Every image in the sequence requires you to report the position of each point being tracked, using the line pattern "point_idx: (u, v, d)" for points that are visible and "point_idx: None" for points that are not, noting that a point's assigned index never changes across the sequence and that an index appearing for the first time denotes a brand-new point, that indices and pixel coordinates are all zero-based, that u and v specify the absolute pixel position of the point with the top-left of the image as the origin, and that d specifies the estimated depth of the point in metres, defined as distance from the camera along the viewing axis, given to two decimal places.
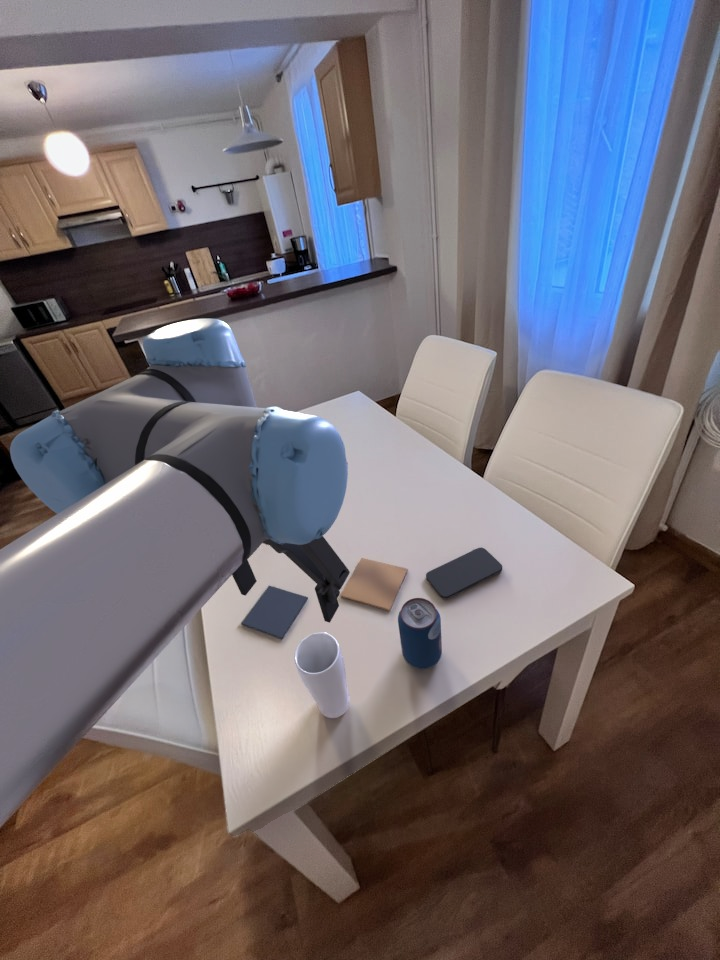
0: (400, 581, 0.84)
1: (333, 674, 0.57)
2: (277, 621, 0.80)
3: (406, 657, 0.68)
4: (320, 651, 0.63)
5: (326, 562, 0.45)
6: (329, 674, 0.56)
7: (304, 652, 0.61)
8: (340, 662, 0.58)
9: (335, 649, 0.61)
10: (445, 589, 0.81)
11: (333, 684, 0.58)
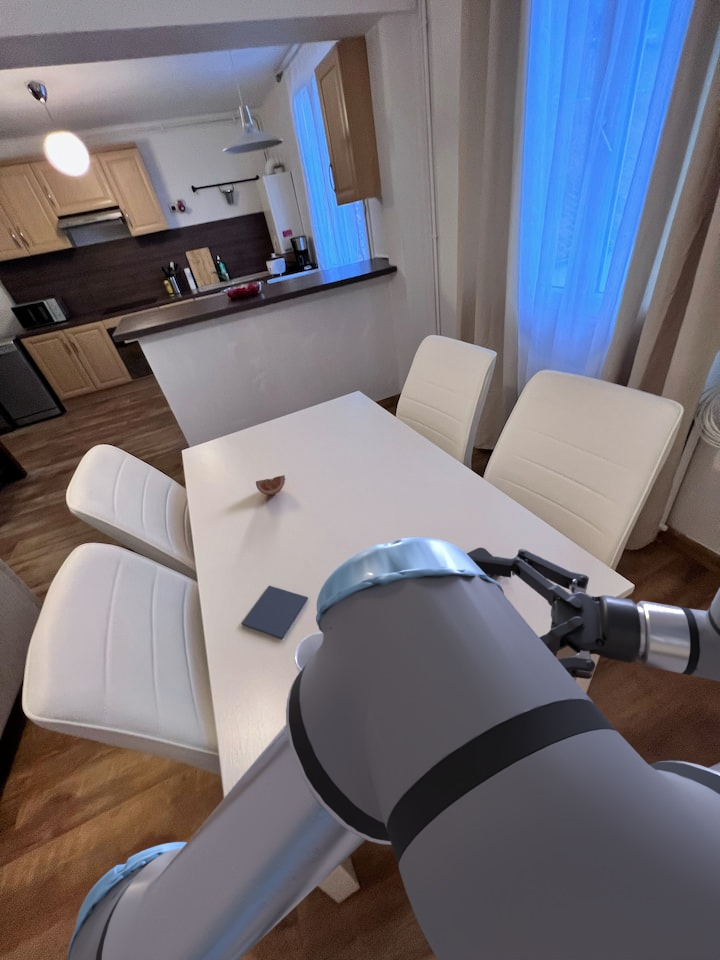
0: None
1: None
2: (277, 621, 0.80)
3: None
4: None
5: None
6: None
7: (304, 652, 0.61)
8: None
9: None
10: None
11: None
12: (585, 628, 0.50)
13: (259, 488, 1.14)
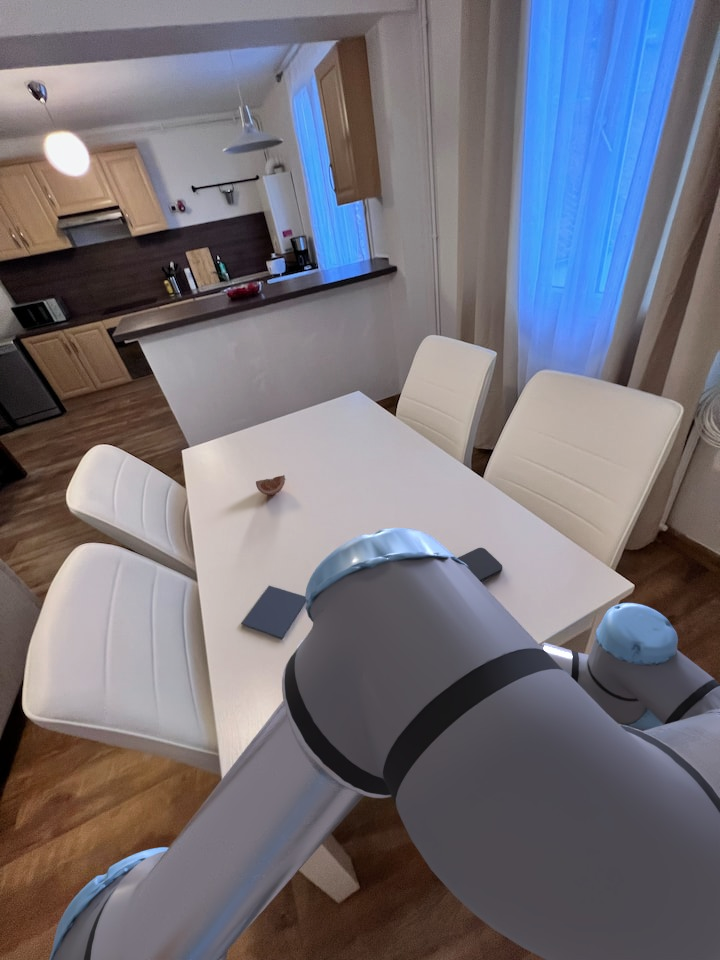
0: None
1: None
2: (277, 621, 0.80)
3: None
4: None
5: None
6: None
7: None
8: None
9: None
10: None
11: None
12: None
13: (259, 488, 1.14)
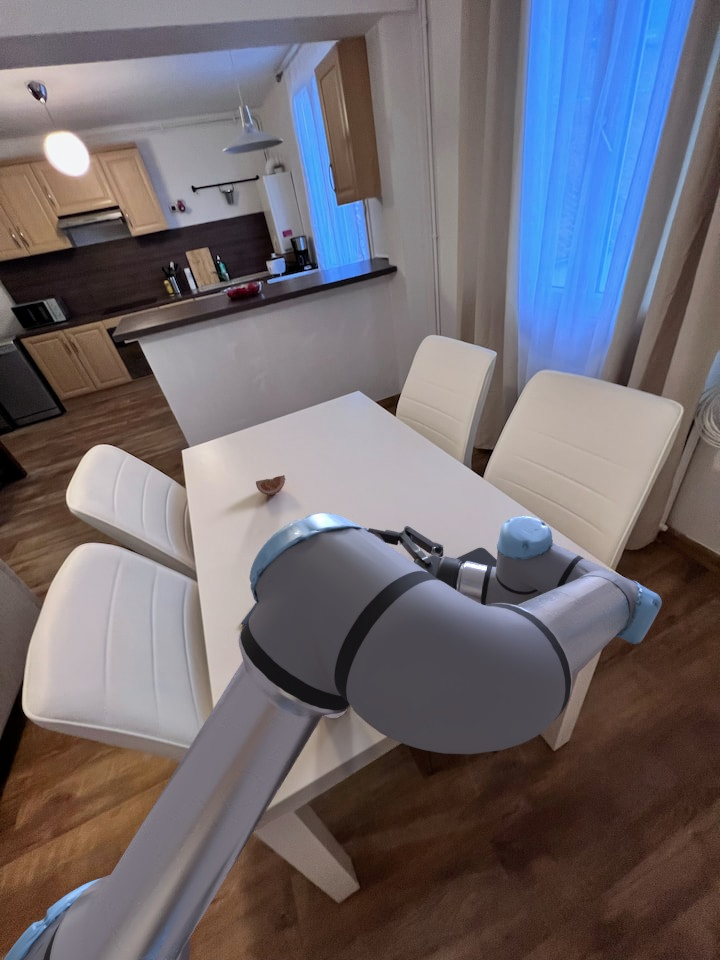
0: None
1: None
2: None
3: None
4: None
5: None
6: None
7: None
8: None
9: None
10: None
11: None
12: None
13: (259, 488, 1.14)
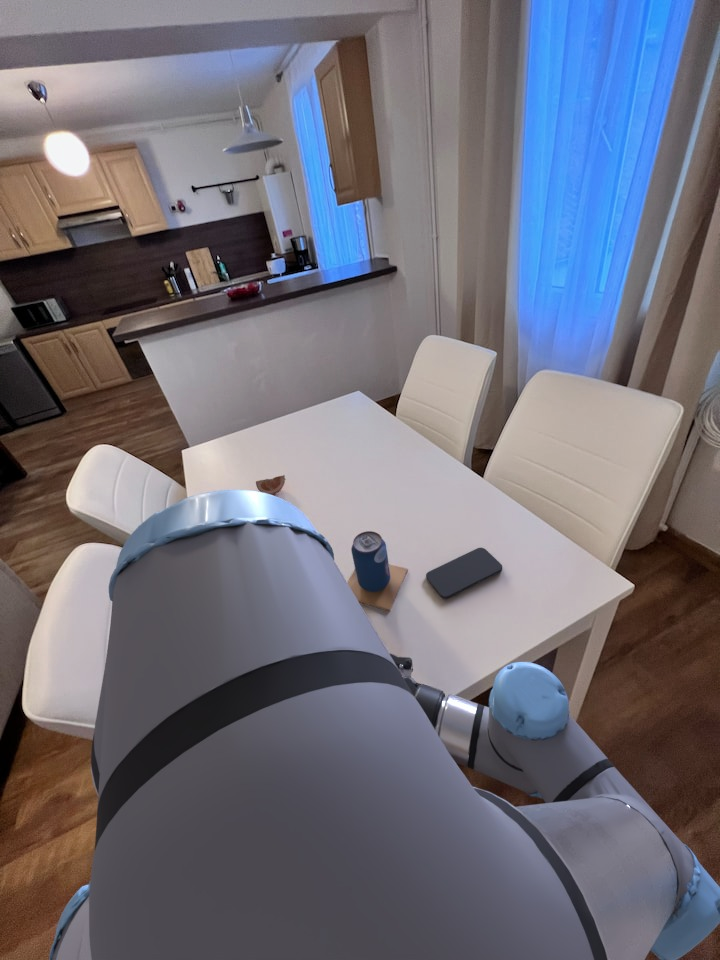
0: (400, 581, 0.84)
1: None
2: None
3: (360, 582, 0.82)
4: None
5: None
6: None
7: None
8: None
9: None
10: (445, 589, 0.81)
11: None
12: None
13: (259, 488, 1.14)
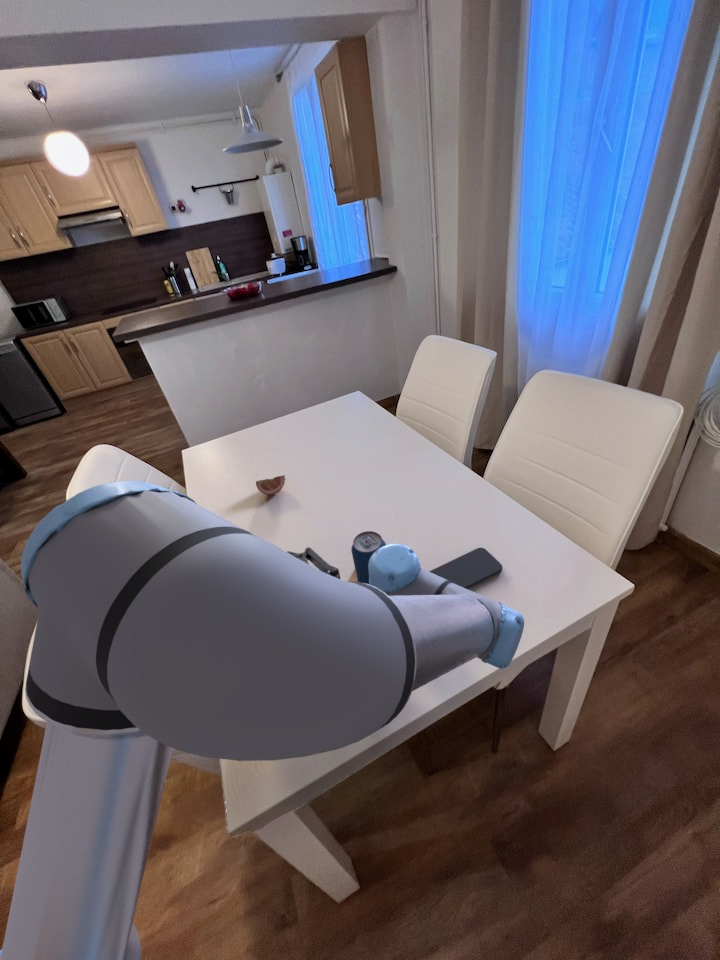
0: None
1: None
2: None
3: None
4: None
5: None
6: None
7: None
8: None
9: None
10: None
11: None
12: None
13: (259, 488, 1.14)
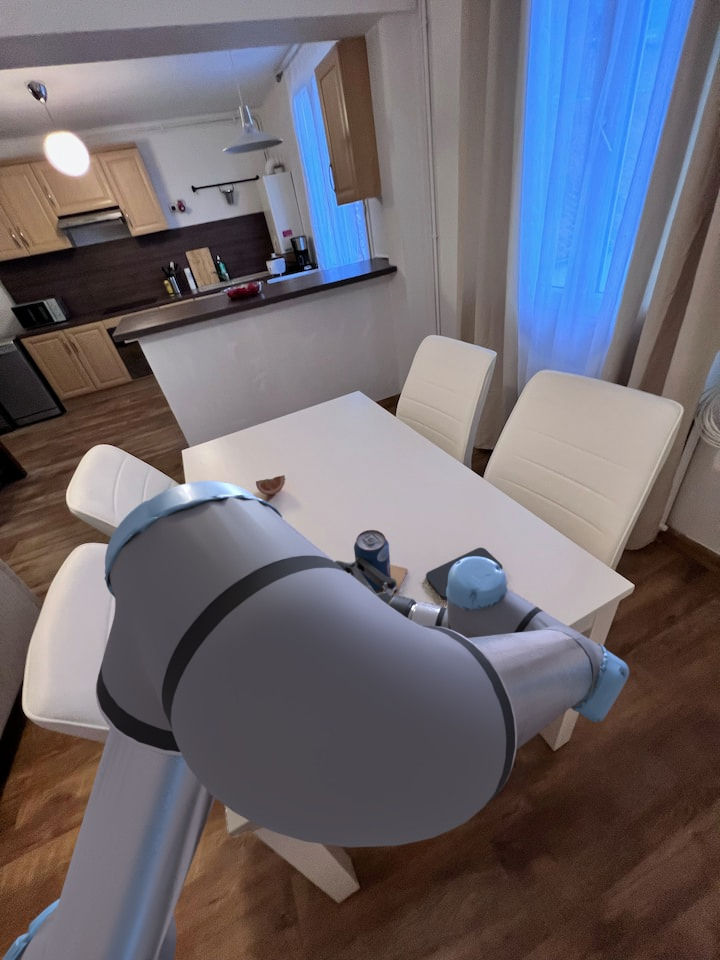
0: (400, 581, 0.84)
1: None
2: None
3: None
4: None
5: None
6: None
7: None
8: None
9: None
10: (445, 589, 0.81)
11: None
12: None
13: (259, 488, 1.14)
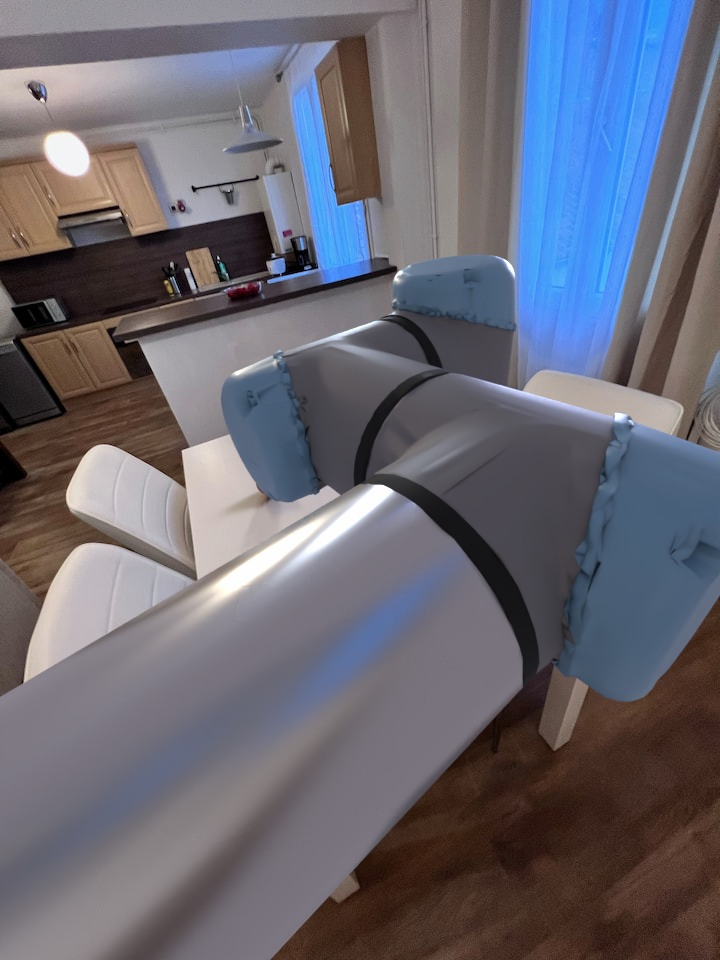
0: None
1: None
2: None
3: None
4: None
5: None
6: None
7: None
8: None
9: None
10: None
11: None
12: None
13: (259, 488, 1.14)
